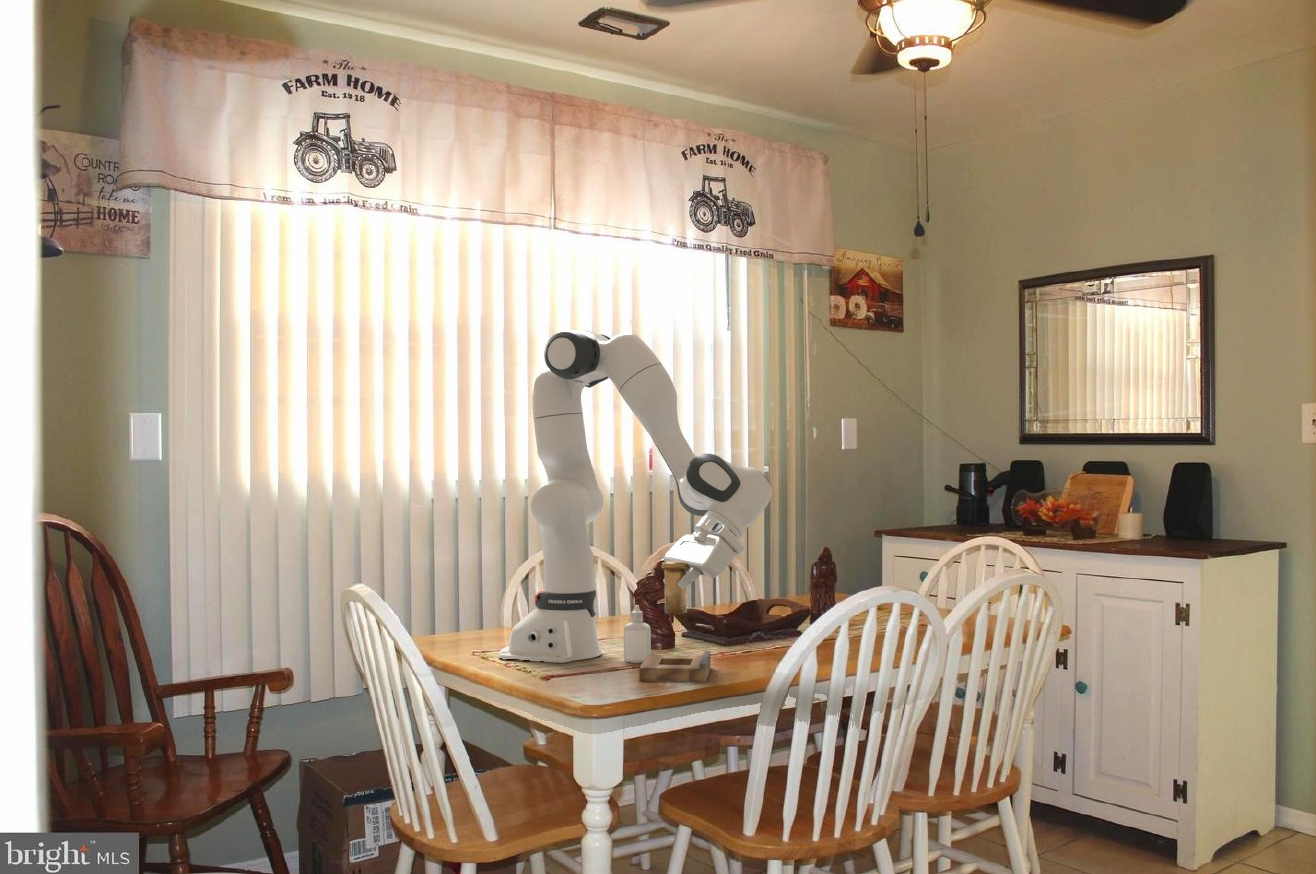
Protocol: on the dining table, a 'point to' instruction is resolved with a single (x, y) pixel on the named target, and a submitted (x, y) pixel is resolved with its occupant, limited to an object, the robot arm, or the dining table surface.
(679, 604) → the bushing
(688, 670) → the jig
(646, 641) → the eye dropper bottle
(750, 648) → the dining table surface
